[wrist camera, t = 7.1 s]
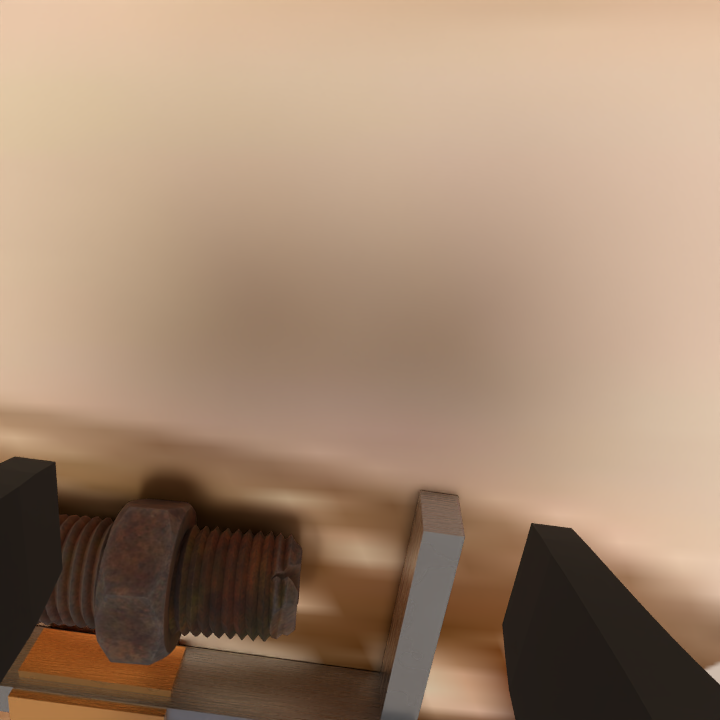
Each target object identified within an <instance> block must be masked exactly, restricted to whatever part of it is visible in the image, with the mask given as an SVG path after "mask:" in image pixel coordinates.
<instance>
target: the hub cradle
mask: <svg viewBox="0 0 720 720" xmlns="http://www.w3.org/2000/svg"><path fill="white" fill-rule="evenodd" d="M464 539H465V535H464V529H463V523H462V517H461V511H460V505H459V499H458V496H455V495H448V494H441V493H434V492H427V491H420V494H419V499H418V503H417V508H416V512H415V517H414V522H413V526H412V531H411V535H410V540H409V544H408V549H407V554H406V558H405V563H404V567H403V572H402V576H401V581H400V585H399V590H398V595H397V599H396V604H395V608H394V613H393V617H392V622H391V626H390V631H389V636H388V640H387V645H386V649H385V654H384V658H383V663H382V667H381V672H380V673H378V672H371V671H364V670H356V669H349V668H342V667H334V666H327V665H319V664H312V663H305V662H297V661H290V660H283V659H275V658H268V657H261V656H253V655H246V654H238V653H231V652H224V651H216V650H209V649H202V648H194V647H187V646H179V645H176V648H175V649H174V650H173V651H172V652H171V653H170V654H169V655H168V656H166V657H165V658H164V659H161V660H159V661H157V662H155V663H153V664H151V665H140V664H127V663H114V662H110V661H109V659H108V658H107V656H106V655H105V653H104V652H103V650H102V649H101V647H100V645H99V644H98V642H97V638H96V634H91V633H84V632H76V631H69V630H62V629H54V628H47V627H40V626H36V627H35V629H34V631H33V632H32V634H31V636H30V637H29V639H28V641H27V642H26V644H25V645H24V647H23V649H22V650H21V652H20V653H19V655H18V656H17V658H16V660H15V661H14V663H13V664H12V666H11V667H10V669H9V671H8V672H7V674H6V675H5V677H4V679H3V680H2V682H1V683H0V711H4V712H9V713H10V720H417V719H418V715H419V711H420V707H421V703H422V700H423V696H424V692H425V688H426V684H427V680H428V677H429V673H430V669H431V665H432V661H433V657H434V654H435V650H436V646H437V642H438V638H439V634H440V631H441V627H442V623H443V619H444V615H445V611H446V608H447V604H448V600H449V596H450V592H451V589H452V585H453V581H454V577H455V573H456V569H457V566H458V562H459V558H460V554H461V550H462V546H463V543H464Z"/></svg>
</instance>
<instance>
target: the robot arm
mask: <svg viewBox="0 0 720 720" xmlns="http://www.w3.org/2000/svg"><path fill="white" fill-rule="evenodd" d="M62 570H63V566H62V552H61V537H60V522H59V507H58V493H57V478H56V463H55V462H52V461H44V460H37V459H29V458H21V457H13V458H11V459H9V460H6V461H4V462H2V463H0V683H1V682H2V680H3V679H4V677H5V675H6V674H7V672H8V671H9V669H10V667H11V666H12V664H13V663H14V661H15V660H16V658H17V656H18V655H19V653H20V652H21V650H22V649H23V647H24V645H25V644H26V642H27V641H28V639H29V637H30V636H31V634H32V632H33V631H34V629H35V627H36V625H37V623H38V621H39V619H40V616H41V614H42V612H43V610H44V608H45V606H46V604H47V602H48V600H49V598H50V596H51V594H52V591H53V589H54V587H55V585H56V583H57V581H58V578H59V576H60V574H61V572H62ZM502 626H503V637H504V647H505V658H506V667H507V676H508V684H509V692H510V696H511V701H512V706H513V710H514V715H515V719H516V720H720V685H719V683H718V682H716V681H715V680H714V679H713V678H712V677H711V676H710V675H709V674H708V673H707V672H706V671H705V670H704V669H703V668H702V667H701V666H700V665H699V664H698V663H697V662H696V661H695V660H694V659H693V658H692V657H691V656H690V655H689V654H688V653H687V652H686V651H685V650H684V649H683V648H682V647H681V646H680V645H679V644H678V643H677V642H676V641H675V640H674V639H673V638H672V637H671V636H670V635H669V634H668V633H667V631H666V630H665V629H664V628H663V627H662V626H661V625H660V624H659V623H658V622H657V621H656V620H655V619H654V618H653V617H652V616H651V615H650V613H649V612H648V611H647V610H646V609H645V608H644V607H643V606H642V605H641V604H640V603H639V602H638V600H637V599H636V598H635V597H634V596H633V595H632V594H631V593H630V592H629V591H628V589H627V588H626V587H625V586H624V585H623V584H622V583H621V582H620V581H619V580H618V578H617V577H616V576H615V575H614V574H613V573H612V572H611V571H610V570H609V568H608V567H607V566H606V565H605V564H604V563H603V562H602V561H601V560H600V558H599V557H598V556H597V555H596V554H595V553H594V552H593V551H592V550H591V548H590V547H589V546H588V545H587V544H586V543H585V542H584V541H583V540H582V539H581V538H580V537H579V536H578V534H577V533H576V532H575V531H574V530H573V529H572V528H565V527H558V526H550V525H542V524H534V523H531V527H530V530H529V534H528V537H527V541H526V544H525V548H524V551H523V555H522V558H521V561H520V565H519V568H518V572H517V575H516V579H515V582H514V586H513V589H512V593H511V596H510V600H509V603H508V607H507V610H506V614H505V617H504V621H503V624H502Z"/></svg>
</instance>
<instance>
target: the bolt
mask: <svg viewBox="0 0 720 720" xmlns="http://www.w3.org/2000/svg"><path fill="white" fill-rule="evenodd" d="M59 522H60V537H61V552H62V566H63V570H62V572H61V574H60V576H59V578H58V581H57V583H56V585H55V587H54V589H53V591H52V594H51V596H50V598H49V600H48V602H47V604H46V606H45V608H44V610H43V612H42V614H41V616H40V619H39V621H38V623H40V622H42V623H44V624H46V625H49V624H51V623H55V624H56V625H58V626H59V625H62V624H66V625H67V626H74V625H76V626H78V627H79V628H83V627H85V626H88V627H89V628H90V629H95V631H96V638H97V642H98V644H99V645H100V647H101V649H102V650H103V652H104V653H105V655H106V656H107V658H108V659H109V661H110V662H114V663H127V664H140V665H151V664H153V663H155V662H157V661H159V660H161V659H164V658H165V657H166V656H168V655H169V654H170V653H171V652H172V651H173V650H174V649H175V648H176V645H177V643H178V641H179V638H180V636H181V633H182V634H183V635H184V636H185V635H187V634H188V633H189V632H190V631H191V633H192V634H193V635H194V636H198V635H199V634H200V633H201V632H202V633H203V635H205V636H206V637H209V636H210V635H211V634H212V633H214V634H215V635H216V636H217V637H218V638H220V637H221V636H222V635H223V634H224V633H226V635H227V636H228V638H229V639H231V638H233V636H234V635H235V634H236V633H237V635H238V636H239V637H240V639H241V640H243V638H244V637H245V636H246V635H247V634H248V635H249V637H250V638H251V639H252V640H253V641H254V640H255V638H256V637H257V636H258V635H259V636H260V637H261V639H262V640H263V641H266V640H267V638H268V637H269V636H271V637H272V638H275V639H277V638H278V637H279V636H281V635H282V634H283V635H289V634H290V633H292V632H293V631H294V630H295V624H296V612H297V604H298V599H299V585H300V571H301V560H302V548H301V546H300V545H299V544H298V543H297V542H296V541H295V540H294V538H293V536H292V534H291V535H290V536H289V537H287V538H286V539H284V537H283V535H282V533H280V534H279V535H277V536H276V537H274V535H273V533H272V531H271V532H270V533H269V534H268V535H266V536H264V535H263V533H262V531H260V532H258V533H257V534H256V535H254V536H253V534H252V532H251V530H249V531H247V532H246V533H245V534H244V535H243V534H242V532H241V531H240V529H238V530H237V531H236V532H234V533H233V534H232V532H231V530H230V529H229V528H227V529H226V530H225V531H224V532H223V533H221V531H220V530H219V528H218V527H216V528H215V529H214V530H213V531H212V532H211V531H210V530H209V528H208V526H206V527H204V528H203V529H202V530H201V531H200V530H199V528H198V527H197V526H196V512H195V510H194V508H193V507H192V506H191V505H190V504H189V503H188V502H181V501H170V500H158V499H139V500H134V501H130V502H128V503H127V504H126V505H125V506H124V507H123V508H122V509H121V511H120V512H119V514H118V515H117V517H116V519H115V521H114V522H113V521H112V520H111V518H109V517H107V518H105V519H103V520H101V518H100V517H98V516H96V517H94V518H92V519H91V518H90V517H88V516H86V515H85V516H82V517H81V518H80V517H79V516H78V515H71V516H68V515H67V514H62V515H59ZM38 623H37V624H38Z"/></svg>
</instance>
